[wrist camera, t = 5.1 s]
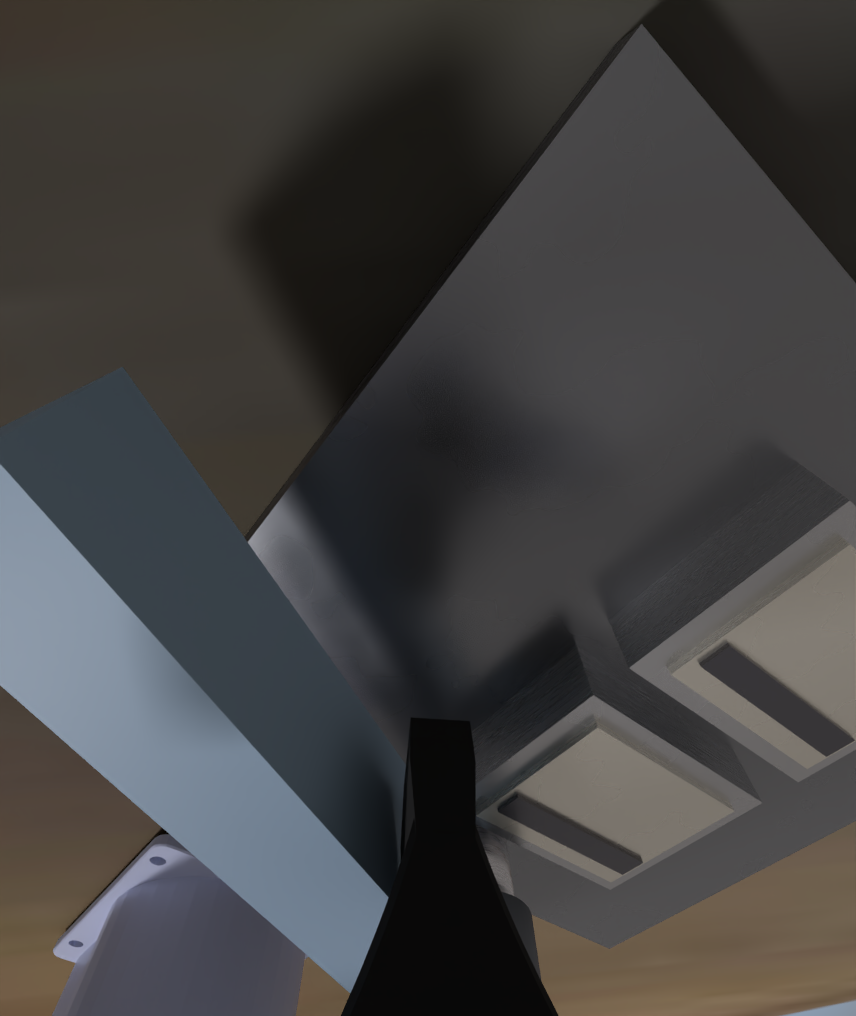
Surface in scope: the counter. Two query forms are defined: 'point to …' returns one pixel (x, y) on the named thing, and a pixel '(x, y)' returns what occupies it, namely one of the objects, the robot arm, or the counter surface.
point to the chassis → (608, 515)
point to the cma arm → (193, 673)
